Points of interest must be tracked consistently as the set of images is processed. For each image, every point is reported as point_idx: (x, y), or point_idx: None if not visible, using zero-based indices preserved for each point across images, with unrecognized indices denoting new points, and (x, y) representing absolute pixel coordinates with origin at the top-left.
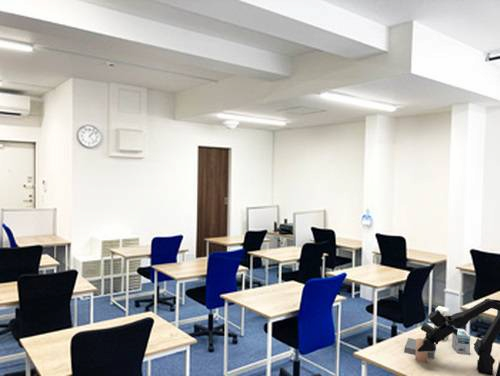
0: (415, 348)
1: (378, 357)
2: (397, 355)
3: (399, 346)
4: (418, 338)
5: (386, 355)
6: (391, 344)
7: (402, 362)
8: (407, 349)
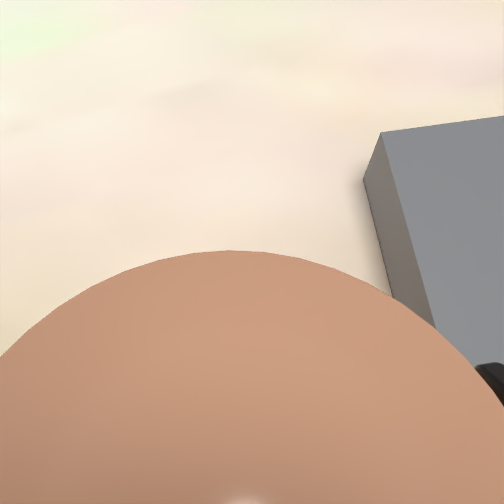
0: (480, 287)
1: (8, 16)
2: (198, 143)
3: (498, 81)
4: (392, 318)
5: (113, 56)
6: (471, 2)
7: (18, 252)
8: (385, 189)
